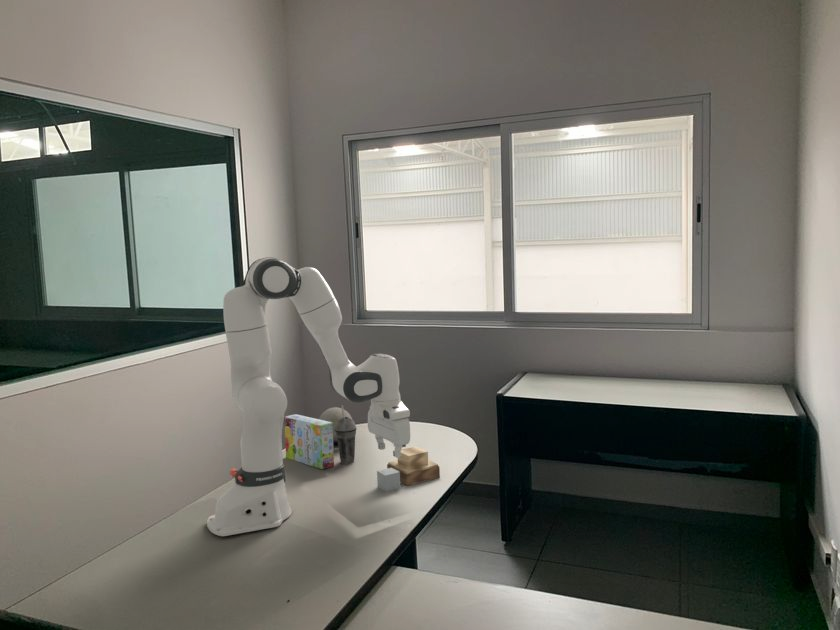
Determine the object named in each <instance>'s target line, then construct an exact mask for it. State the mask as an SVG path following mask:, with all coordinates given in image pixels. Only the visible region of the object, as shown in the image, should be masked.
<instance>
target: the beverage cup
mask: <svg viewBox="0 0 840 630" xmlns="http://www.w3.org/2000/svg"><path fill="white" fill-rule="evenodd" d="M341 408H342V413H343V418H341V419H340V420H339V421H338V422H337V424H336V427H335V431H336V436H337V440H338V448H339V451H338V454H339V460H340V464H341V465H346V466H347V465H352V464H354V463H355V454H356V451H355V449H356V435H357V430H358V429H357V425H356V423H355V421H354V419H353V418H352V419H353V420H352V419H351V418H348V417H345V416H344V410H345V409H344V405H343V404H342V405H341Z"/></svg>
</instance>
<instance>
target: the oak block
mask: <svg viewBox="0 0 840 630" xmlns="http://www.w3.org/2000/svg"><path fill="white" fill-rule="evenodd" d="M397 460H398V463H399V464H401V465H403V466H405V467H407V468H409V469H410V468H414V467H418V466H423V465H427V464H428V460H429V451H427V450H425V449H423V448H420V447H419V446H411V447H407V448H406V447H405V448H402V449H401V456H400V457H398V458H397Z"/></svg>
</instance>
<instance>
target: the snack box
mask: <svg viewBox="0 0 840 630" xmlns="http://www.w3.org/2000/svg"><path fill="white" fill-rule="evenodd" d="M283 423H284V437H285V438H284V440H285V443H284V444H285V458H286V459H289V460H292V461H295V462H297V463H300V464H301V463H302V464H304V465H306V466H307V465H308V466H311V467H313V468H317V469H320V470H325V469H328V468H332V467H334V466H335V457H334V456H335V455H334V453H335V452H334V449H333V422H328V421H324V420H319V418H314V417H309V416H305V415H301V414H297V413H295V414H291V415H287V416H284V420H283Z"/></svg>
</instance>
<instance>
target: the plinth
mask: <svg viewBox="0 0 840 630" xmlns="http://www.w3.org/2000/svg"><path fill="white" fill-rule="evenodd" d="M388 468H393V469H395V470H397V471H399V472H400V484H401V483H402V484H403V485H405V486H410V485H411V486H412V485H414V484H417V483H422V482H425V481H429V480H435V479H437V478H440V477H441V475H440V473H441V471H440V470H441V469H440V466H439V464H438V463H436V462H434V461H431V460H430V459H428V464H427V465H423V466H418V467H414V468H410V469H409V468H407V467H405V466H403V465H401V464H399V463H398V459H397V460H393V461H389V462H388V463H387V465H386V469H388Z"/></svg>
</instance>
